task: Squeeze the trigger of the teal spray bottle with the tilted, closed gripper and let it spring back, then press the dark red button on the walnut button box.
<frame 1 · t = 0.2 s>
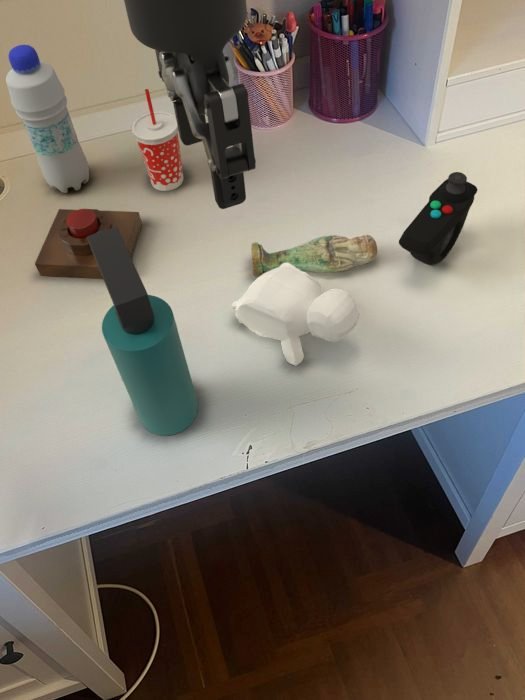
hand: (212, 170, 52), 27 cm above the table, tool pointing down, fingers open, 8 cm apart
button box: (92, 249, 85), on the table
controller: (430, 259, 81), on the table
spray trigger: (121, 285, 62), point 14 cm above the table, slide at -0.1 cm
penguin: (297, 332, 75), on the table
button: (82, 223, 82), point 4 cm above the table, slide at 0.1 cm
beverage cup: (167, 181, 93), on the table
bottle: (71, 183, 94), on the table
figurine: (313, 266, 81), on the table
spray bottle: (168, 409, 70), on the table
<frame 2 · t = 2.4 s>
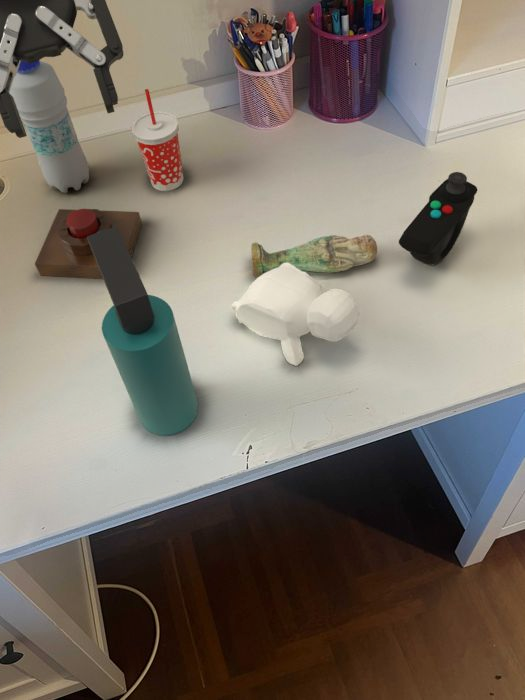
hand: (66, 123, 61), 24 cm above the table, tool tilted 40°, fingers open, 8 cm apart
nothing on the table moved.
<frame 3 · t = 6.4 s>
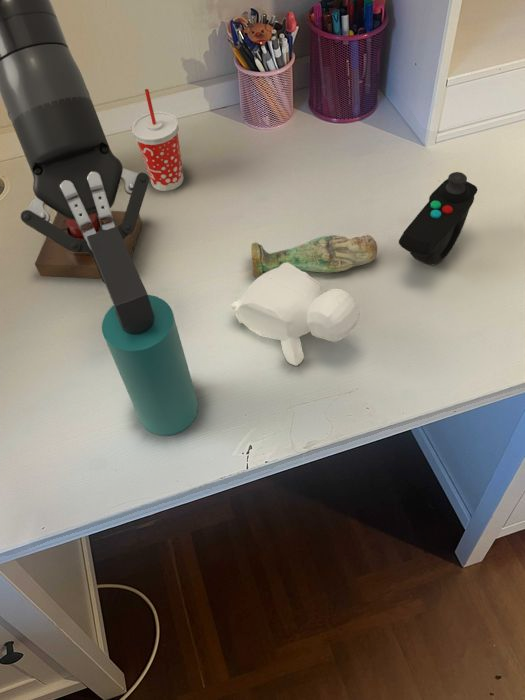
hand: (120, 286, 64), 13 cm above the table, tool tilted 45°, fingers closed
spray trigger: (121, 285, 62), point 14 cm above the table, slide at 0.0 cm, touching gripper
everything else where it was.
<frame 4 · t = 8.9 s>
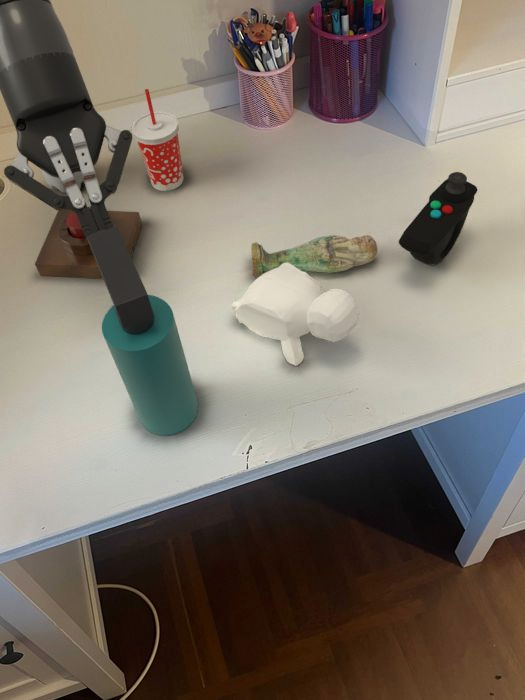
hand: (104, 244, 64), 15 cm above the table, tool tilted 45°, fingers closed
spray trigger: (121, 285, 62), point 14 cm above the table, slide at -0.1 cm
everything else where it was.
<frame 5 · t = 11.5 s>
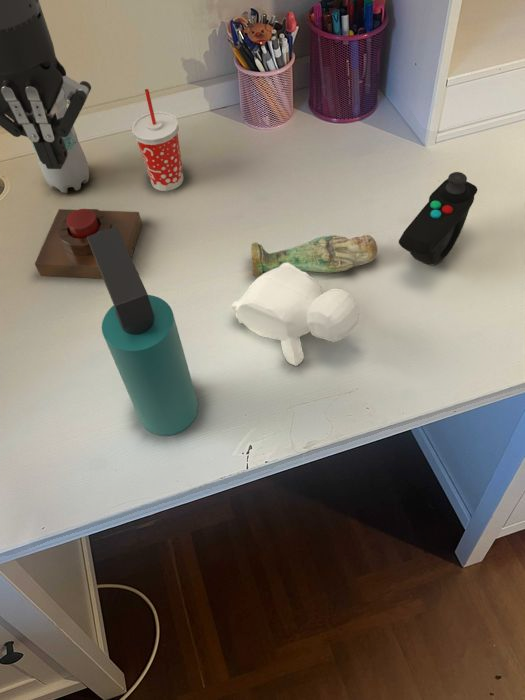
hand: (57, 164, 74), 14 cm above the table, tool pointing down, fingers closed
nothing on the table moved.
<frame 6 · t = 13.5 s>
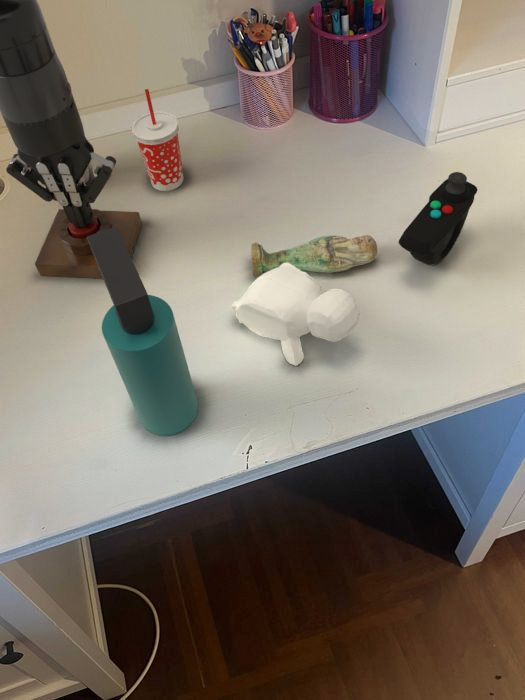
hand: (83, 223, 82), 5 cm above the table, tool pointing down, fingers closed
button: (84, 228, 82), point 4 cm above the table, slide at -0.7 cm, touching gripper
everything else where it was.
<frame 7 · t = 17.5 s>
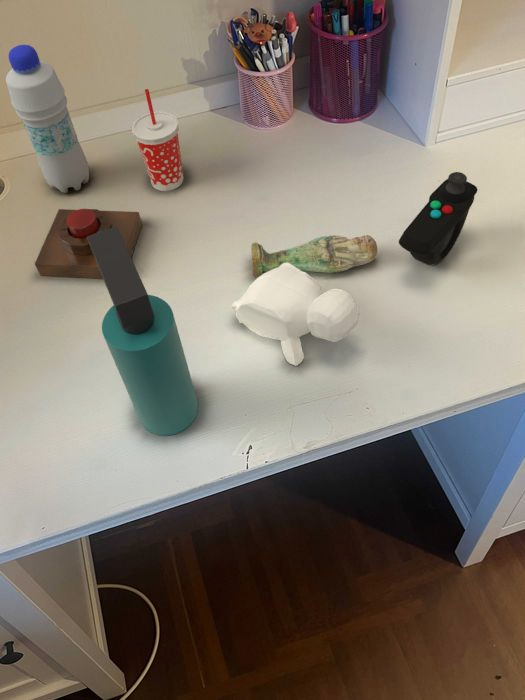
button: (82, 223, 82), point 4 cm above the table, slide at 0.1 cm
everything else where it was.
at the end: spray trigger pulled out 1.3 cm at the most during the clip, back to where it started at the end; spray trigger slide at -0.1 cm; button pushed in 1.1 cm at the most during the clip, back to where it started at the end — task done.
